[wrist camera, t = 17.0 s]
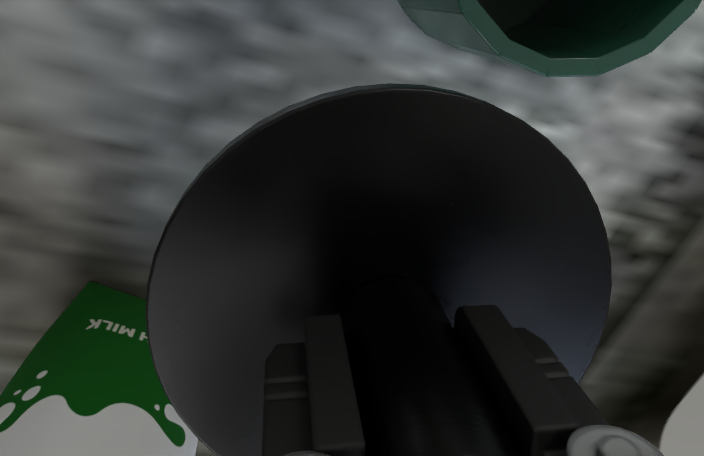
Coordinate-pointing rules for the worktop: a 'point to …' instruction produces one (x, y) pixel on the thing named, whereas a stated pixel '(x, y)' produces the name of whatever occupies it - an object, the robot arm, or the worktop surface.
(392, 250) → the lid
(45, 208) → the worktop surface
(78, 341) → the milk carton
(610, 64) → the tin
